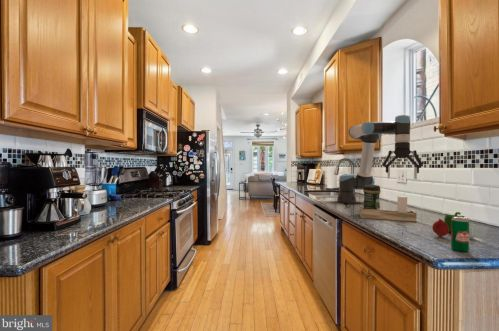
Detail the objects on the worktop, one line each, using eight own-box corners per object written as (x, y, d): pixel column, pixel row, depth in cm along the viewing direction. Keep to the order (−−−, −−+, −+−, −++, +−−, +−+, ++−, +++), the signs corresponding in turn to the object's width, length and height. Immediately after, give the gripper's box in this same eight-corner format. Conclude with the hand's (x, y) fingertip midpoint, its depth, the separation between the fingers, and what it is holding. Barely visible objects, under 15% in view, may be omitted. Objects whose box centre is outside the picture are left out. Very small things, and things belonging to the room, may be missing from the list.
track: (359, 214, 155) (359, 206, 155) (411, 218, 146) (411, 209, 146) (361, 218, 146) (361, 209, 146) (417, 221, 136) (417, 212, 136)
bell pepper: (442, 229, 120) (443, 209, 120) (465, 232, 116) (465, 210, 116) (445, 233, 113) (445, 211, 113) (469, 236, 109) (469, 213, 109)
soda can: (456, 252, 89) (457, 218, 89) (447, 247, 94) (448, 215, 94) (472, 253, 88) (473, 219, 88) (462, 248, 93) (463, 216, 93)
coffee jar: (360, 212, 161) (361, 184, 161) (368, 211, 165) (368, 183, 165) (374, 215, 153) (374, 185, 153) (382, 214, 157) (382, 184, 157)
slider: (397, 213, 146) (397, 195, 146) (405, 214, 145) (405, 196, 145) (399, 215, 142) (399, 196, 142) (407, 215, 140) (407, 197, 140)
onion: (451, 237, 107) (451, 219, 107) (445, 239, 104) (445, 220, 104) (436, 234, 112) (436, 216, 112) (429, 236, 109) (429, 217, 109)
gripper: (379, 142, 145) (378, 178, 146) (429, 141, 137) (429, 179, 137) (377, 143, 152) (377, 177, 153) (425, 142, 144) (424, 178, 144)
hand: (401, 178), depth 145 cm, fingers open, 13 cm apart
